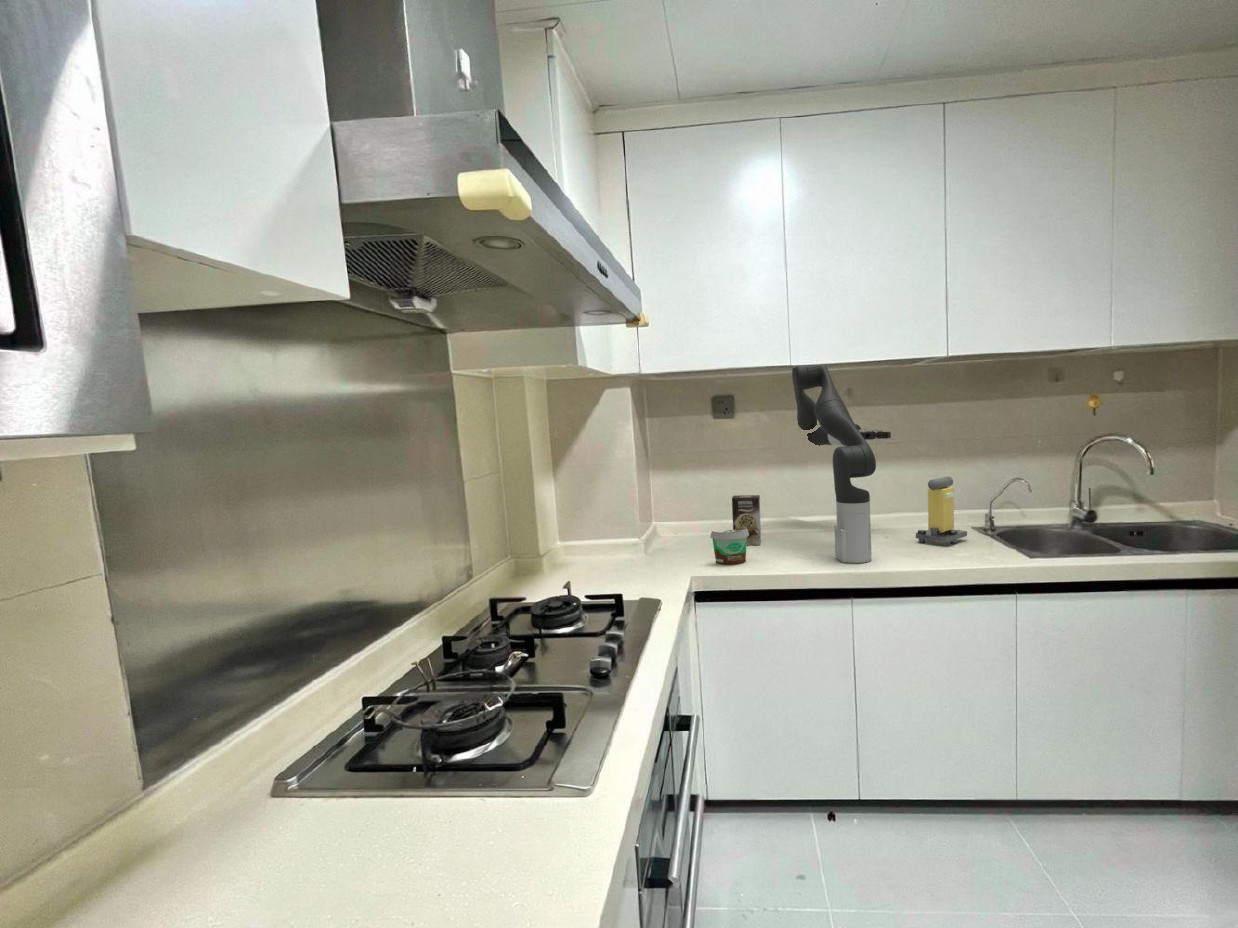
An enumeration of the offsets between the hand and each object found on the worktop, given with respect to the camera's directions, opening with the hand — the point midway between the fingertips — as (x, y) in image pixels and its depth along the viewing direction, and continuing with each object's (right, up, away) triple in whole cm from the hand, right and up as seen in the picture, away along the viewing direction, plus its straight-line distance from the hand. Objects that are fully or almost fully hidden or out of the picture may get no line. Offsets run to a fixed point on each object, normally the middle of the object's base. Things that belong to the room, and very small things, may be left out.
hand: (889, 435), depth 217 cm
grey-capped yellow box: (+13, -30, -9) cm, 34 cm away
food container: (-54, -39, -19) cm, 69 cm away
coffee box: (-45, -36, +6) cm, 58 cm away
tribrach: (+13, -34, -9) cm, 37 cm away
